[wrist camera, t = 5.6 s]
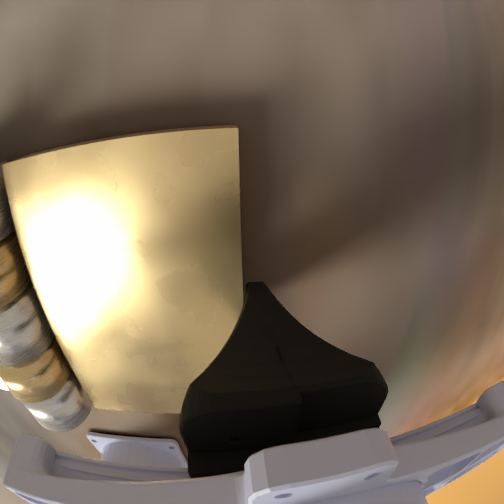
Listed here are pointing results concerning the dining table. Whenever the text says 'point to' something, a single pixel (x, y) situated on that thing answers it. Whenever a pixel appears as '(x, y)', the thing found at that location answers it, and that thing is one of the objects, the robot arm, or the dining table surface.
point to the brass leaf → (127, 263)
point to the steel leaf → (35, 345)
